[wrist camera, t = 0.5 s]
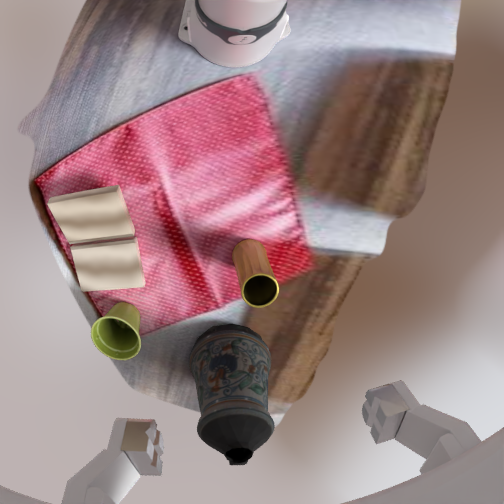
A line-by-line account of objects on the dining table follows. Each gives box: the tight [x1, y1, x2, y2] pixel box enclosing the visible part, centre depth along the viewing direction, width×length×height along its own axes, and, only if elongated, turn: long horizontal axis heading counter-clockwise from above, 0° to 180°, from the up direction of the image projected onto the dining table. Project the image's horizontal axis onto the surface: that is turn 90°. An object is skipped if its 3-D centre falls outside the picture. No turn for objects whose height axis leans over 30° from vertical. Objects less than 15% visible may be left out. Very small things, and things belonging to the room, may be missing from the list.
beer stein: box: [189, 324, 274, 465], centre depth 51 cm, size 16×19×25 cm
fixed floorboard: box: [70, 236, 145, 292], centre depth 52 cm, size 9×13×2 cm
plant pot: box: [91, 302, 141, 360], centre depth 52 cm, size 9×9×9 cm
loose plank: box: [47, 185, 135, 244], centre depth 46 cm, size 10×13×2 cm
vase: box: [232, 239, 279, 308], centre depth 48 cm, size 6×6×14 cm
